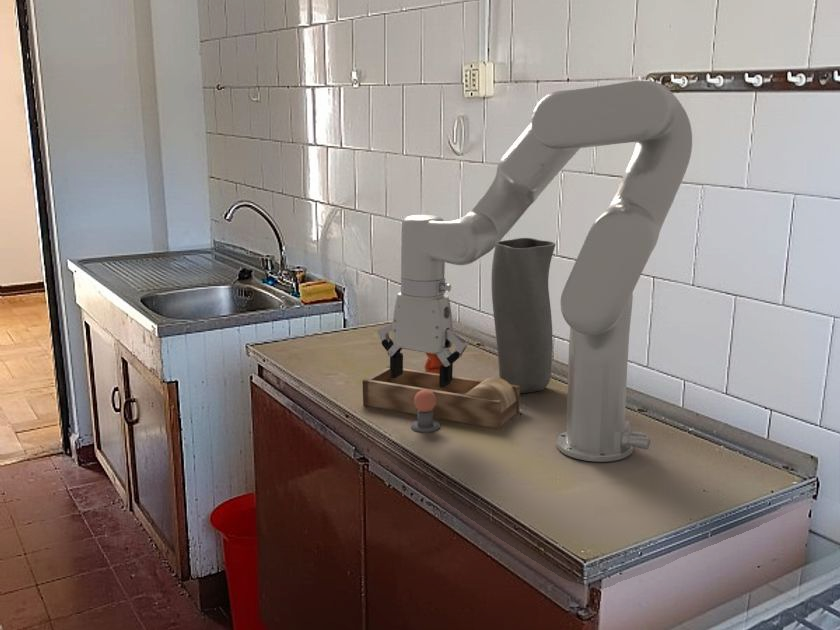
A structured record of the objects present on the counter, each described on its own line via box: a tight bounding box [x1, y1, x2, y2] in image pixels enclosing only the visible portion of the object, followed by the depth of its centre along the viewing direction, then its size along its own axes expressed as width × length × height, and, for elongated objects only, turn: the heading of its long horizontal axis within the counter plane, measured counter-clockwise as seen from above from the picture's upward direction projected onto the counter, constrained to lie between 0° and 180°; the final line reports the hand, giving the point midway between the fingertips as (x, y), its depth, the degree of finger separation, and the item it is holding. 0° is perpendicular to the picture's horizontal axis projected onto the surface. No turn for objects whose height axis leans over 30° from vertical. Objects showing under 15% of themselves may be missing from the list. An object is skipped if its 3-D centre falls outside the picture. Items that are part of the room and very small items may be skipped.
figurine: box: [424, 353, 443, 374], centre depth 176 cm, size 6×6×12 cm
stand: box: [410, 410, 441, 433], centre depth 155 cm, size 5×5×3 cm
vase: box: [491, 237, 556, 395], centre depth 171 cm, size 12×12×30 cm
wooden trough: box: [362, 365, 521, 429], centre depth 164 cm, size 28×10×8 cm, turn 62°
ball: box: [414, 390, 436, 412], centre depth 154 cm, size 4×4×4 cm
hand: (420, 380), depth 154 cm, fingers open, 9 cm apart
